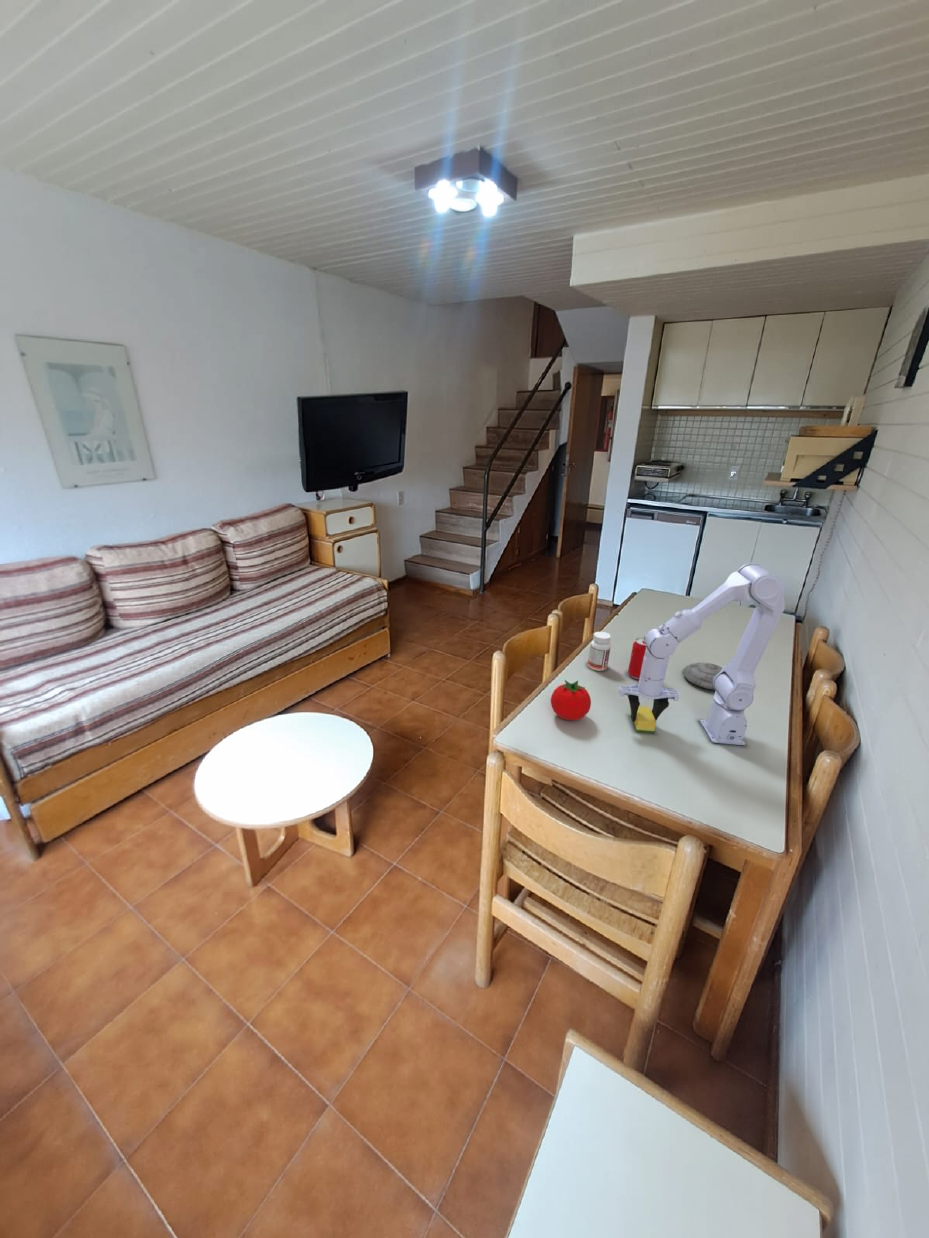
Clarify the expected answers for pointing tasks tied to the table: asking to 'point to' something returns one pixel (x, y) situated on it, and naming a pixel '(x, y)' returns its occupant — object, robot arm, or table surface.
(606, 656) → the pill bottle
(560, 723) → the table surface
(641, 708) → the sponge
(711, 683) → the flying saucer
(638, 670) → the beverage can
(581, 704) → the tomato
